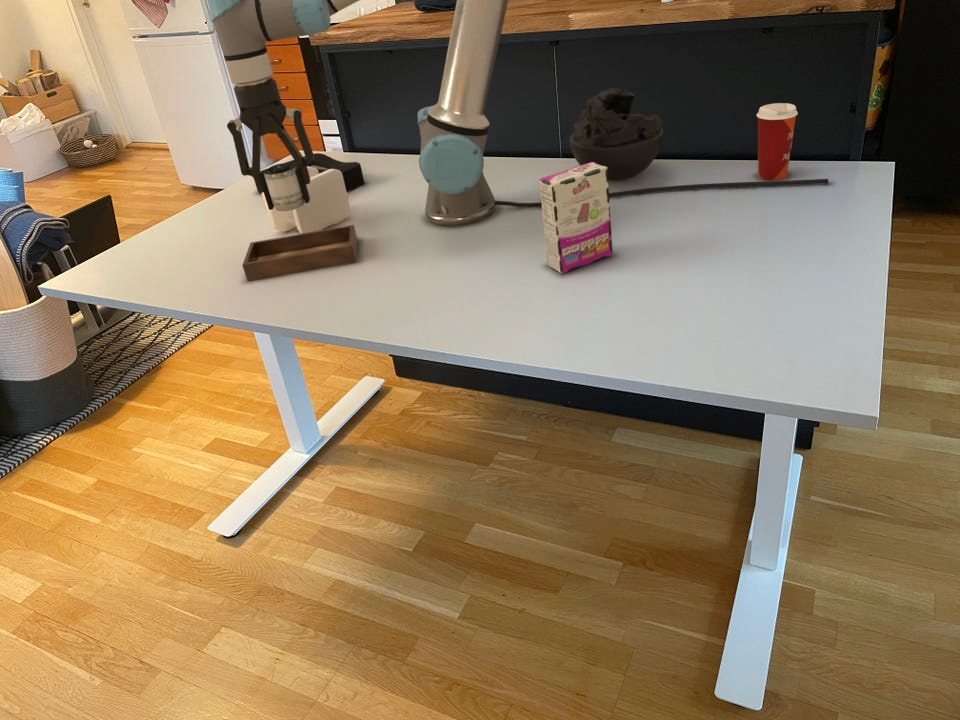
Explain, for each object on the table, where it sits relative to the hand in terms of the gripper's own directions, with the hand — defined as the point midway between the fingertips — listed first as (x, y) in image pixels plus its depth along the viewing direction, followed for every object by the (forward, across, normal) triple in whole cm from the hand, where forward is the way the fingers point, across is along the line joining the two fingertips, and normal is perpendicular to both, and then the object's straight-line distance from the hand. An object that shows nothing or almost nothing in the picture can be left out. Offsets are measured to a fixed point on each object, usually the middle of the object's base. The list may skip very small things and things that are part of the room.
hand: (289, 203), depth 145 cm
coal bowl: (+13, -69, -16) cm, 72 cm away
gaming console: (+12, +2, -47) cm, 49 cm away
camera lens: (+1, 0, 0) cm, 1 cm away
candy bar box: (+13, -51, +23) cm, 57 cm away
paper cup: (+13, -98, -2) cm, 99 cm away
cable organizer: (+12, 0, -19) cm, 23 cm away
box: (+12, 0, 0) cm, 12 cm away
